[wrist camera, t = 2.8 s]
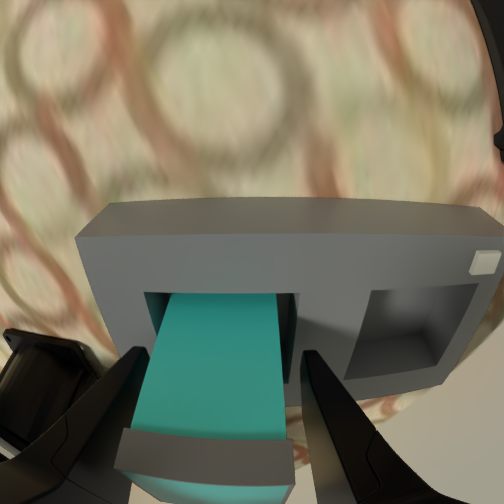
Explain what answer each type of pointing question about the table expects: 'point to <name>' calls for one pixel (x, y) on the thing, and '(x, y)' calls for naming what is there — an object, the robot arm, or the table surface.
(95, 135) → the table surface
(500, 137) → the electric trimmer
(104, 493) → the robot arm
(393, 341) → the grey flat block
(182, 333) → the plug
